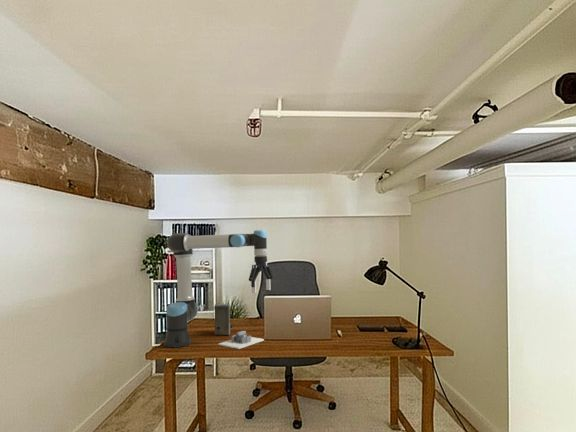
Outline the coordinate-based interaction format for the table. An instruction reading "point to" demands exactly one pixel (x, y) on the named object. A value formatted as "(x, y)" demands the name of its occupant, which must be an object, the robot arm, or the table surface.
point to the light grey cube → (240, 336)
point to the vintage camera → (222, 319)
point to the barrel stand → (244, 342)
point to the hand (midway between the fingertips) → (261, 291)
